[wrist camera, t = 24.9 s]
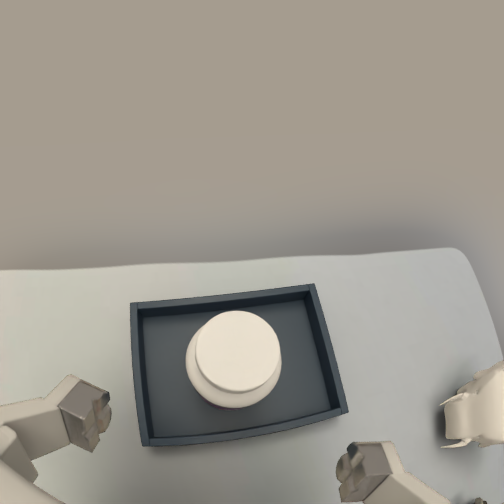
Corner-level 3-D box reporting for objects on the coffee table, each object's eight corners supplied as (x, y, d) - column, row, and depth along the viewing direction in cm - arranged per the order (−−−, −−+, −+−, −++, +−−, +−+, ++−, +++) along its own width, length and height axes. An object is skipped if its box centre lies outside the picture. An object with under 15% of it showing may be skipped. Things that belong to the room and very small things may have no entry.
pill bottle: (275, 392, 21) (315, 373, 12) (212, 421, 19) (210, 425, 11) (244, 334, 23) (261, 281, 15) (182, 359, 21) (162, 320, 13)
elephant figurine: (419, 383, 22) (484, 359, 15) (486, 363, 23) (540, 336, 16) (423, 471, 17) (491, 472, 9) (493, 434, 18) (550, 421, 11)
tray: (149, 443, 17) (141, 446, 15) (137, 313, 23) (130, 302, 21) (336, 413, 20) (349, 412, 18) (306, 295, 26) (314, 282, 24)
